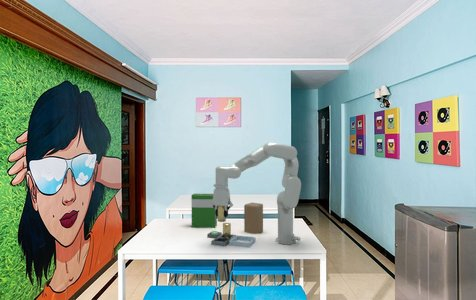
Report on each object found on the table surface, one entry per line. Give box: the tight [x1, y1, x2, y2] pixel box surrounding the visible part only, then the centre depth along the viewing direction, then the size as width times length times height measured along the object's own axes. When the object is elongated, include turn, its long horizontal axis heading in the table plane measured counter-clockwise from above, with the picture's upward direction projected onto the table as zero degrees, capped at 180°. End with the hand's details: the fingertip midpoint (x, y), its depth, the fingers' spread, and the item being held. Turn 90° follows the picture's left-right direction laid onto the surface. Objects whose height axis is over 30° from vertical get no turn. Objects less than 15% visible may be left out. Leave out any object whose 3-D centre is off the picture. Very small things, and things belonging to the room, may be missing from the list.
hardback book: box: [191, 193, 218, 229], centre depth 232 cm, size 18×7×24 cm, turn 85°
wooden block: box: [243, 202, 264, 235], centre depth 215 cm, size 10×10×20 cm
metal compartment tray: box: [210, 233, 237, 247], centre depth 193 cm, size 18×10×3 cm, turn 159°
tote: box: [228, 234, 257, 248], centre depth 189 cm, size 13×13×4 cm
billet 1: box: [217, 206, 227, 223], centre depth 189 cm, size 5×5×10 cm
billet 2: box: [222, 222, 232, 238], centre depth 196 cm, size 5×5×10 cm
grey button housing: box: [206, 231, 223, 239], centre depth 203 cm, size 7×7×3 cm
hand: (221, 216), depth 189 cm, fingers closed on billet 1, 5 cm apart
